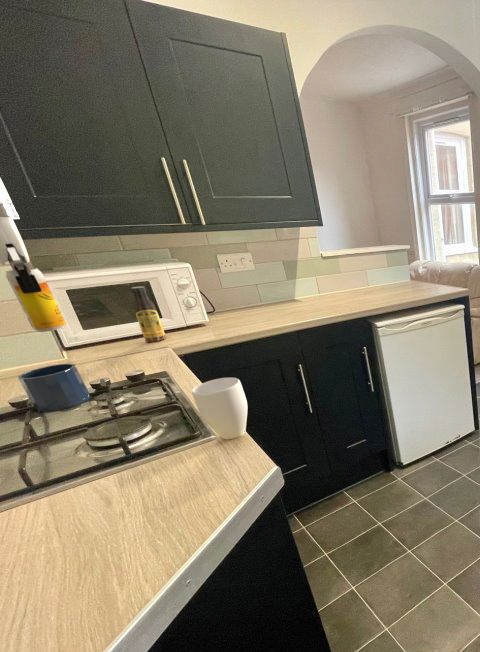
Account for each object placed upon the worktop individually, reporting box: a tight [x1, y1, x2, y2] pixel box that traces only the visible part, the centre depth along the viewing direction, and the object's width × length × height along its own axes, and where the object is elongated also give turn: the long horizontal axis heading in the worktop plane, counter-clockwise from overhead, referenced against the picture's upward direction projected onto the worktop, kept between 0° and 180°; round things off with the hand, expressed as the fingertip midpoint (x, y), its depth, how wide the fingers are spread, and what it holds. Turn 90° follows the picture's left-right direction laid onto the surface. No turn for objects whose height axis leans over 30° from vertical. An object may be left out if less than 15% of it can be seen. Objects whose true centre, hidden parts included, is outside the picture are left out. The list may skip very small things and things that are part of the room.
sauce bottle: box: [130, 286, 166, 343], centre depth 154 cm, size 6×6×20 cm
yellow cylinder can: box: [5, 267, 67, 333], centre depth 105 cm, size 6×6×15 cm
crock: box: [17, 363, 92, 413], centre depth 106 cm, size 10×10×9 cm
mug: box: [191, 377, 249, 440], centre depth 87 cm, size 12×8×11 cm
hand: (31, 290), depth 104 cm, fingers closed on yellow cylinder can, 6 cm apart
